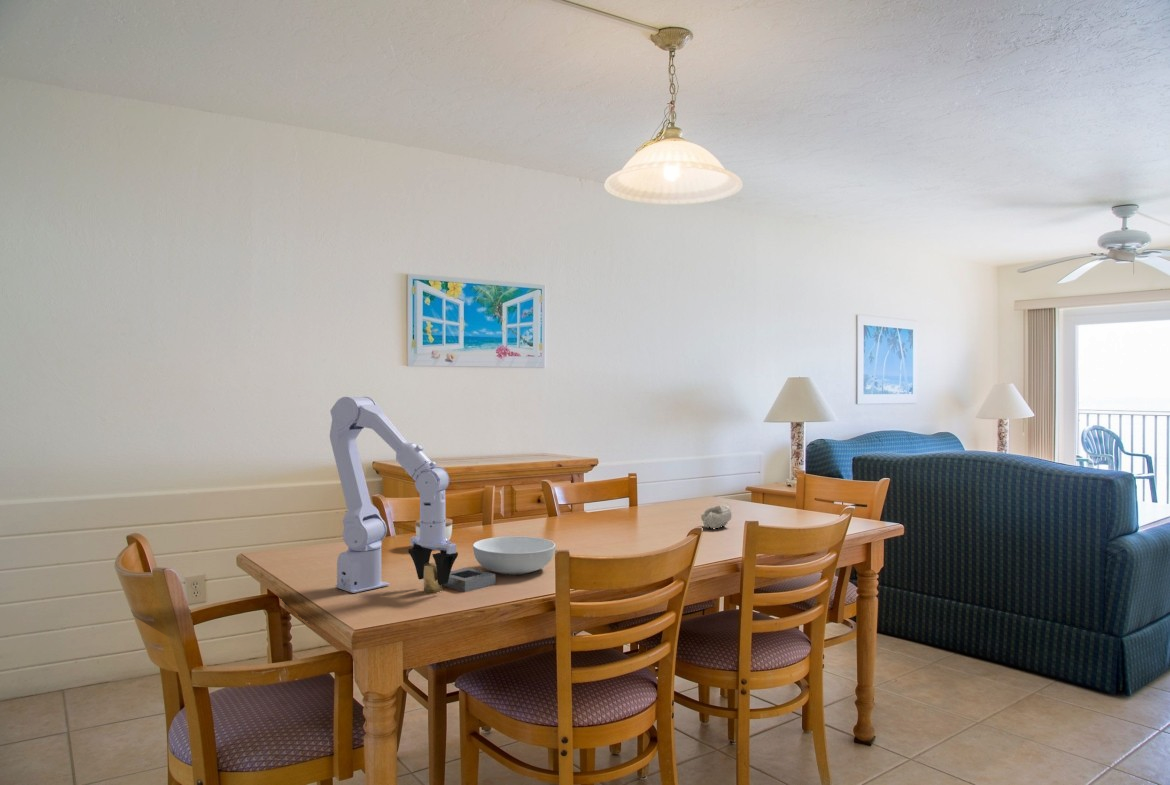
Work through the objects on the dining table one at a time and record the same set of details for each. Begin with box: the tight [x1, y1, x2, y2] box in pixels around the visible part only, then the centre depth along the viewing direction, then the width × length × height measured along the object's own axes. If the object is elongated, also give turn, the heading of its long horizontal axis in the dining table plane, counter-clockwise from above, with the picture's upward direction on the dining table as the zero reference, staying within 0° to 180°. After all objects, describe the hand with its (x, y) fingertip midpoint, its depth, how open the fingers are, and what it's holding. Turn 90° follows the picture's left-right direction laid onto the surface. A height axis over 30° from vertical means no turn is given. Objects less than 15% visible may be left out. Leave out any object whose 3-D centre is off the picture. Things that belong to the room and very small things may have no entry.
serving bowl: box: [472, 535, 556, 576], centre depth 189 cm, size 21×21×7 cm
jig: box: [443, 567, 496, 593], centre depth 176 cm, size 9×10×2 cm
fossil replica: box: [700, 503, 733, 529], centre depth 251 cm, size 12×8×10 cm
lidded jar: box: [414, 517, 454, 541], centre depth 219 cm, size 11×11×9 cm
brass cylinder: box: [423, 562, 443, 594], centre depth 170 cm, size 4×4×6 cm
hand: (432, 581), depth 169 cm, fingers open, 7 cm apart
